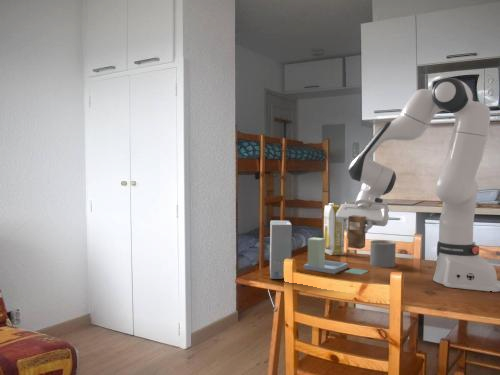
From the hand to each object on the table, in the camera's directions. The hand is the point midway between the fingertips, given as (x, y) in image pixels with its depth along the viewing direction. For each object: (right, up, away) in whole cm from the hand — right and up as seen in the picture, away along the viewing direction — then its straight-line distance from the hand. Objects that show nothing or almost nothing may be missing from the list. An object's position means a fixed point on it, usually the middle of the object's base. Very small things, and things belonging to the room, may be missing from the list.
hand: (356, 231), depth 171 cm
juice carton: (-1, -15, +39) cm, 42 cm away
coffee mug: (+16, -16, +15) cm, 27 cm away
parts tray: (-11, -16, +6) cm, 20 cm away
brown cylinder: (0, -6, +1) cm, 6 cm away
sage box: (-15, -15, +6) cm, 22 cm away
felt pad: (0, -16, +1) cm, 16 cm away
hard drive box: (-30, -17, -2) cm, 34 cm away
